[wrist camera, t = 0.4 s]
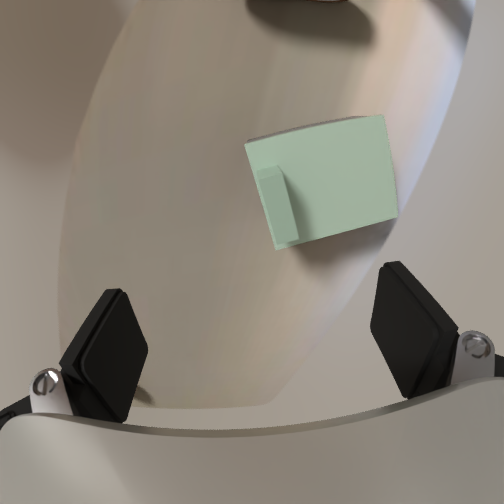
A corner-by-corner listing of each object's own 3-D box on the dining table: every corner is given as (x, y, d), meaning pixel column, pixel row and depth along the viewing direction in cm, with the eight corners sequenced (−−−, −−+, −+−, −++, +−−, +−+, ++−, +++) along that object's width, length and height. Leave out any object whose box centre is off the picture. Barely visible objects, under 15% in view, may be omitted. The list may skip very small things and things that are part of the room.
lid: (374, 114, 25) (405, 115, 19) (389, 210, 30) (417, 232, 24) (244, 143, 27) (243, 149, 21) (273, 241, 32) (279, 271, 26)
